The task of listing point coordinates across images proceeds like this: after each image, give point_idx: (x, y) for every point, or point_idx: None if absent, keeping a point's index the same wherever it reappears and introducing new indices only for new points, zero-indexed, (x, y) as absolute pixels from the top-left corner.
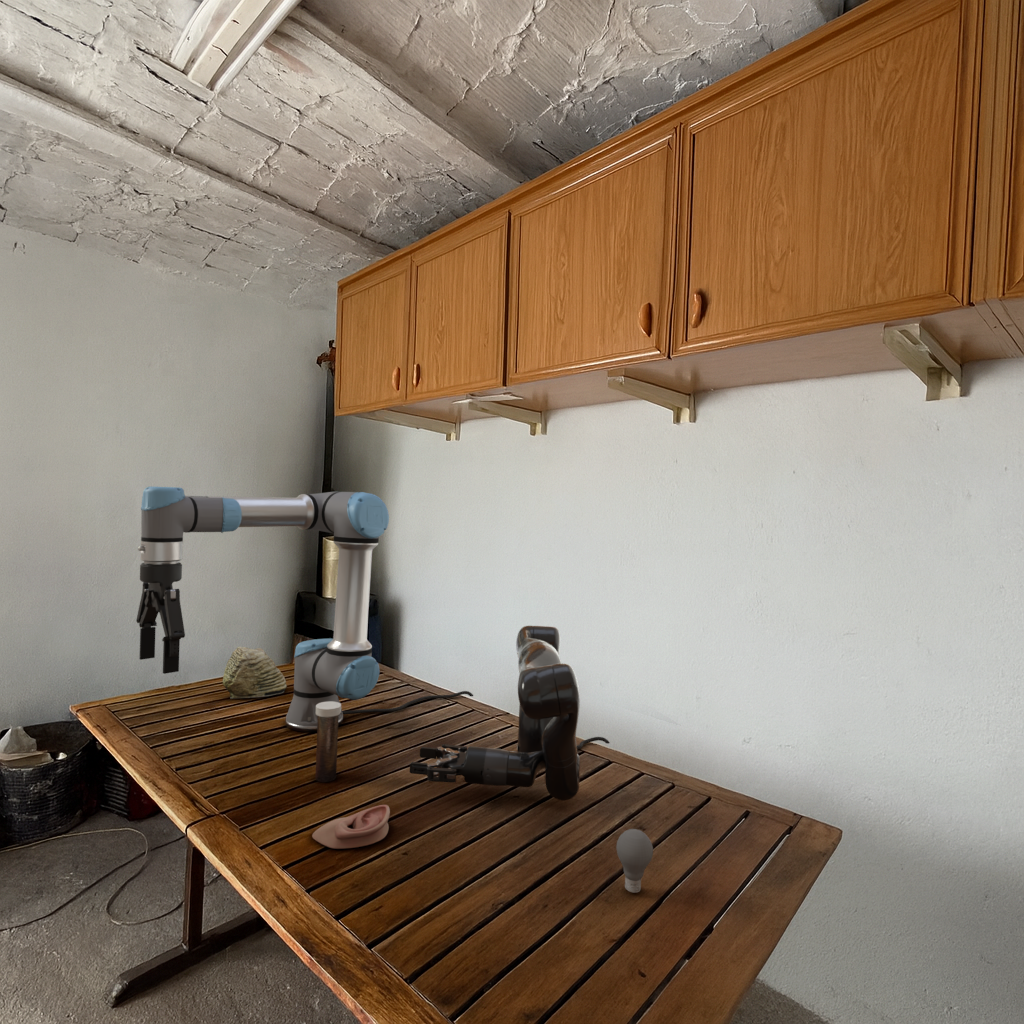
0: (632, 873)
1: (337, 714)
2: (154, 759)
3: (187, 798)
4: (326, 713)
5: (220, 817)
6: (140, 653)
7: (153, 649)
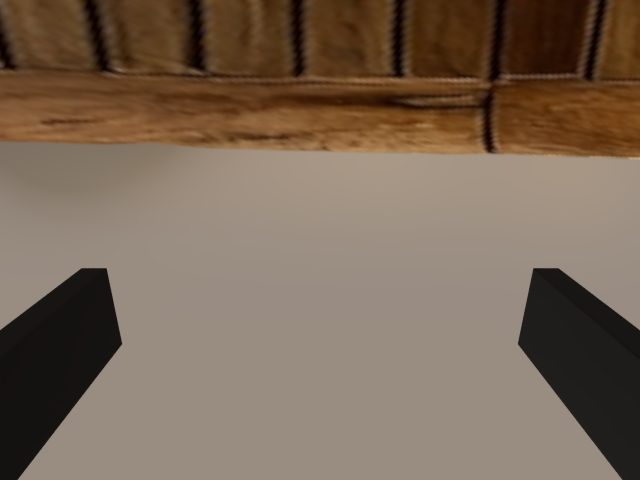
0: None
1: None
2: (100, 89)
3: (373, 108)
4: None
5: (509, 89)
6: (96, 370)
7: (73, 306)
